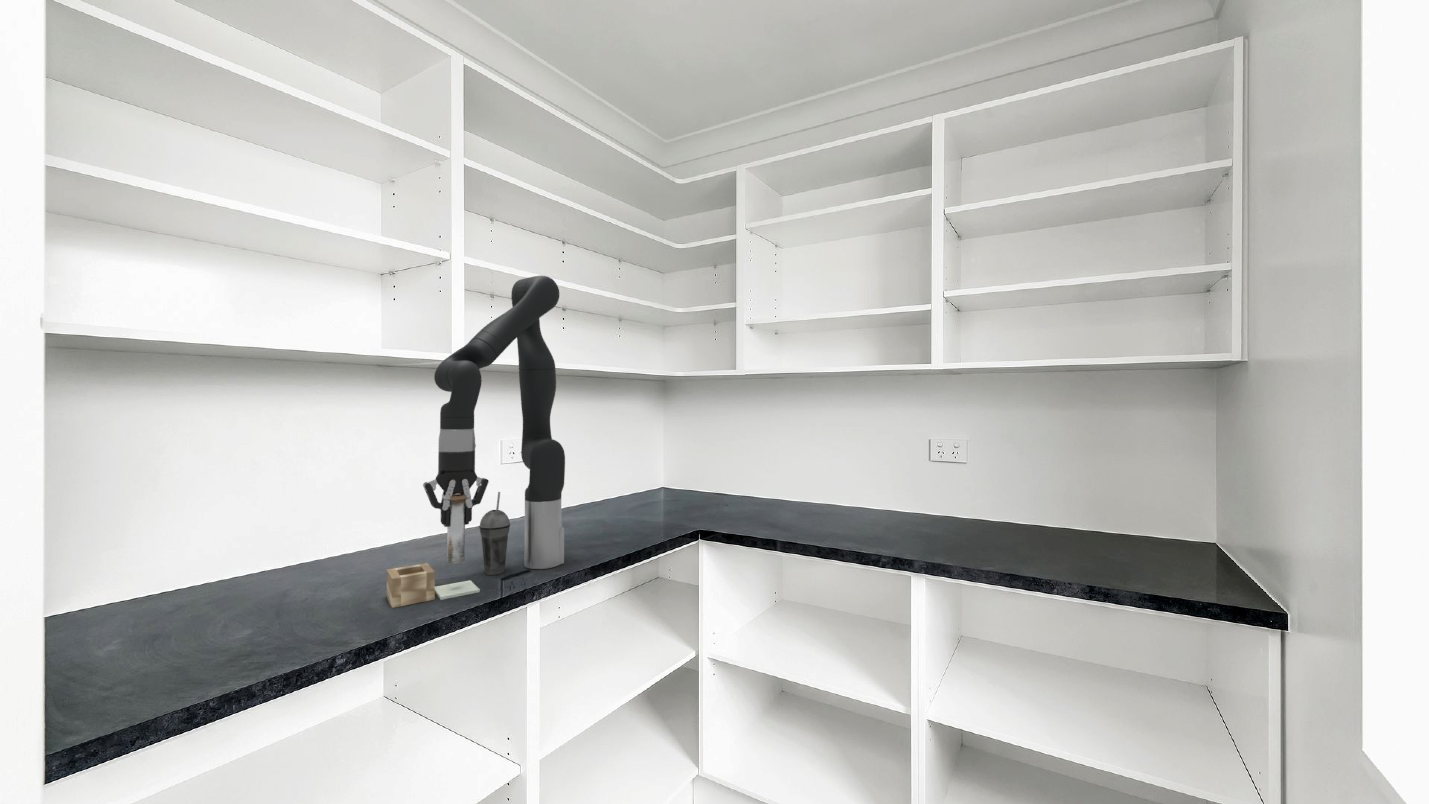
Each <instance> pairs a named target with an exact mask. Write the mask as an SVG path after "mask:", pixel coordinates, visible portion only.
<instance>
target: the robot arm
mask: <svg viewBox="0 0 1429 804" xmlns="http://www.w3.org/2000/svg"><path fill="white" fill-rule="evenodd" d="M559 299H560V288H559V287H558V284H557V282H556V281H555V280H554V279H553V278H552V277H549V276H547V275H535V276H531V277H526V278H525V277H524V278H520V279H518V280H516V281H515V283H514V284H513V286H512V288H511V305H512V307H511V308H509V309H508V310H507V311H505V312H504V313H502V314H501V315H499V316H497V317H496V318H494V319H493V320H491V321H490V322H489V323H486V325H484V327H483V328H481V329H480V330H479V331H478V332H477V333H476V334H475V335H474V336H473V337H472V338H471V339H470V340H469V342H468V343H466V344H465V345H464V346H463V347H460V348H458V350H456V351H454V352H453V353H452V354H450V355H449V356H448V357H446V358H445V359H444V360H442V361H441V362H440V363H439V365H438V366H437V368H436V369H435V372H434V375H433V379H434V383H435V384H436V386H437V387H438V389H440V390H442V391H445V392H450V399H449V401H448V402H446V403H444V404H442V406H441V407H440V415H439V417H440V418H439V425H440V426H439V436H438V462H437V463H438V465H437V466H438V469H437V470H438V471H437V475H436V477H435V479H432V480H430V481H428V482H427V481H425V482H424V483H423V484H422V487H423V489H424V491H425V493H426V496H427V498H428V500H429V502H430V505H431V507H432V508H433V509H438V510H440V523H441V525H443V527H445V528H447V527H449V510H448V507H449V503H450V501H448V500H450V496H452V495H454V494H457V493H459V494H464V495H467V498H468V499H466V500H465V526H466V525H469V524H470V522H472V519H473V518H472V517H473V516H472V515H473V507H475V506H476V505H480V504H481V502H482V499H483V497H484V495H485V492H486V490H487V487H488V484H489V483H490V482H489V481H490V480H489V479H488V478H485V477H480V476H478V475H477V473H476V447H477V446H476V445H477V444H476V435H475V409H476V406H477V403H478V399H479V395H480V392H481V387H482V373H481V370H480V369H483V368H486V367H489V366H491V365H492V364H493V363H494V362H495V361H496V360H497V359H498V358H499V357H500V355H502V354H503V353H504V351H506V349H507V348H508V347H509V346H510V345H511V344H512V343H513V342H514V341H515V340H516V343H517V354H518V355H517V357H518V377H519V378H518V380H519V391H520V392H519V393H520V405H521V416H522V432H521V433H522V435H521V436H522V437H521V451H520V453H521V460H522V462H523V464H524V466H525V467H526V468H527V469H528V470H529V479H528V484H527V485H528V486H527V487H526V488H525V490H524V558H523V559H524V567H525V568H527V569H532V570H544V569H545V570H546V569H551V568H552V569H553V568H555V567H558V566H560V565H563V564H565V528H564V526H562V492H563V490H564V486H565V474H566V473H565V472H566V471H565V470H566V454H565V449H564V447H563V445H562V444H561V443H560V442H559V441H558V440H555V439H553V438H552V430H551V414H552V409H553V405H554V400H555V397H556V390H557V373H556V371H557V370H556V363H555V360H554V357H553V354H552V352H551V350H550V349H549V347H548V345H547V343H546V342H545V339H544V338H543V335H542V331H541V323H540V318H541V317H543V316H544V315H546V314H547V313H549V312H550V311H551V310H553V309H554V308H555V307H557V306H556V305H557V304H558V302H559V301H560V300H559ZM475 482H476V491H475V492H474V495H473V498H472V494H471V491H470V490H471V488H472V486H473V485H474V484H475ZM437 485H438V486H439V487H440V489H441V490H442V495H441V500H440V501H441V502H439V500H438V498H437V495H436V493H435V491H436V489H437Z"/></svg>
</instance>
